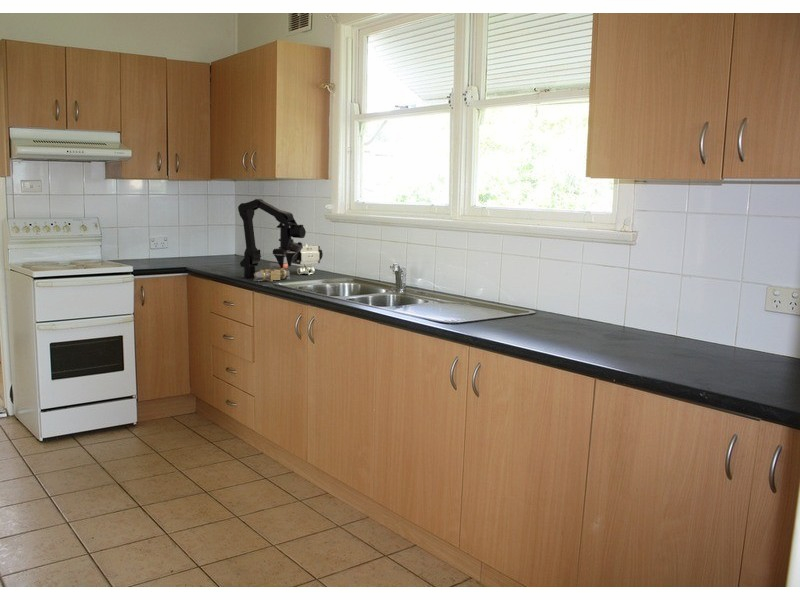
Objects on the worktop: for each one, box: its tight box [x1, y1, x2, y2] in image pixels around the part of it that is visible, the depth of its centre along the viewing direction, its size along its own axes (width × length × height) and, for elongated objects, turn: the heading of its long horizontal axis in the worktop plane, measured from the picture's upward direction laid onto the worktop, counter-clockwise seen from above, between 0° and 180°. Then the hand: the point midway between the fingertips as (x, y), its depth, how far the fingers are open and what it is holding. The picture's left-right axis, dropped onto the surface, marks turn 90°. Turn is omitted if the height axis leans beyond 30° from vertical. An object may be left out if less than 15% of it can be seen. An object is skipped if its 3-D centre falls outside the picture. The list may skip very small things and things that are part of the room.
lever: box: [268, 262, 289, 270], centre depth 374 cm, size 12×4×4 cm, turn 56°
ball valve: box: [292, 242, 324, 276], centre depth 402 cm, size 18×8×18 cm, turn 131°
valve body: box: [253, 268, 291, 282], centre depth 377 cm, size 20×6×6 cm, turn 136°
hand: (285, 267), depth 374 cm, fingers open, 9 cm apart
